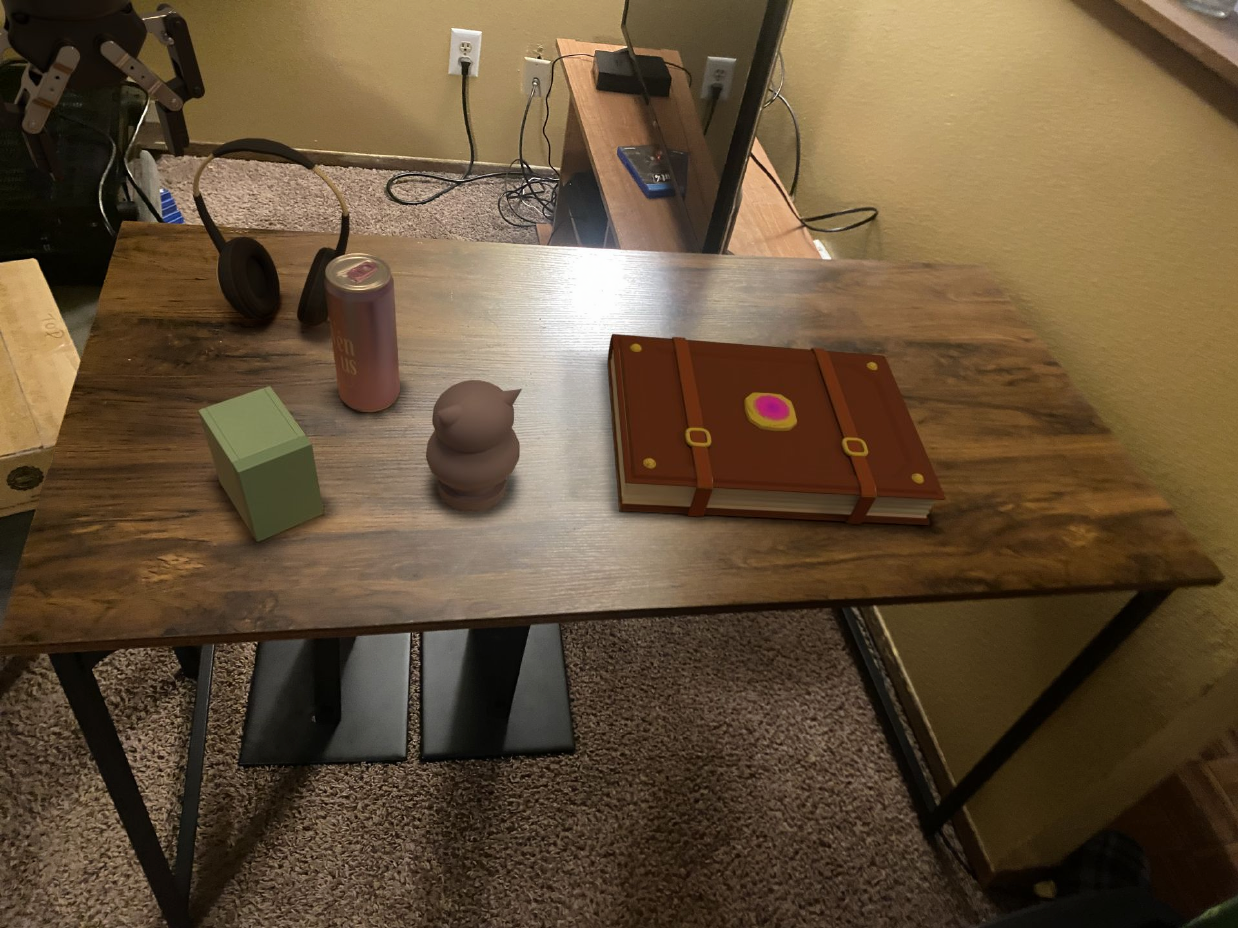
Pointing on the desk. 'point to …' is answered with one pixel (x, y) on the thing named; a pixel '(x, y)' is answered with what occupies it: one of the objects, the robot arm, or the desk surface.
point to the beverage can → (363, 330)
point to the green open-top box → (263, 462)
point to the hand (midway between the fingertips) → (117, 163)
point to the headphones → (249, 264)
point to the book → (764, 433)
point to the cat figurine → (473, 444)
